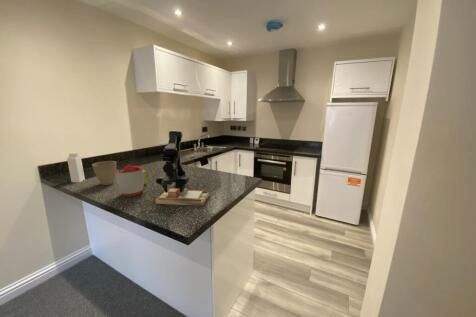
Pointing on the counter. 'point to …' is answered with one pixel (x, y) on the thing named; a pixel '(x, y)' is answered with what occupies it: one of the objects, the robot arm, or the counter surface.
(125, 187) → the citrus juicer
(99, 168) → the plant pot
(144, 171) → the puzzle toy
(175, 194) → the block
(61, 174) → the counter surface
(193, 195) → the slide cover
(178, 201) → the puzzle board
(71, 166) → the milk
